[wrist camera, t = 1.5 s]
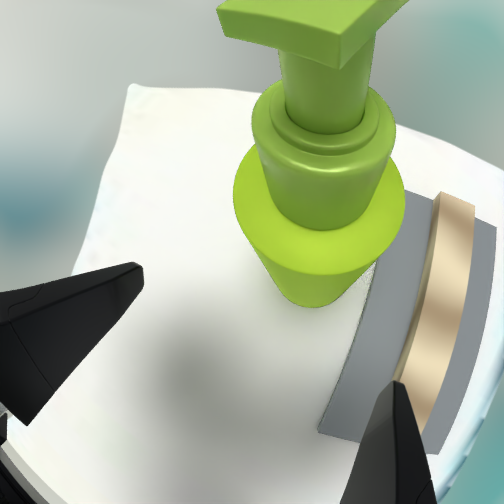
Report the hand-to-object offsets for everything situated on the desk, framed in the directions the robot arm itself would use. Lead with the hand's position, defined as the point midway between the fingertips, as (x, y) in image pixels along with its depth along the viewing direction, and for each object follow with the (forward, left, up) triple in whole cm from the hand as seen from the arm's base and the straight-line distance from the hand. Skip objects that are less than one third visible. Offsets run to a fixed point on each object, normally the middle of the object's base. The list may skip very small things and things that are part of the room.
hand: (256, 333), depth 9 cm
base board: (+4, -11, -13) cm, 17 cm away
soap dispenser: (+6, -1, -13) cm, 14 cm away
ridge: (+4, -11, -13) cm, 17 cm away
